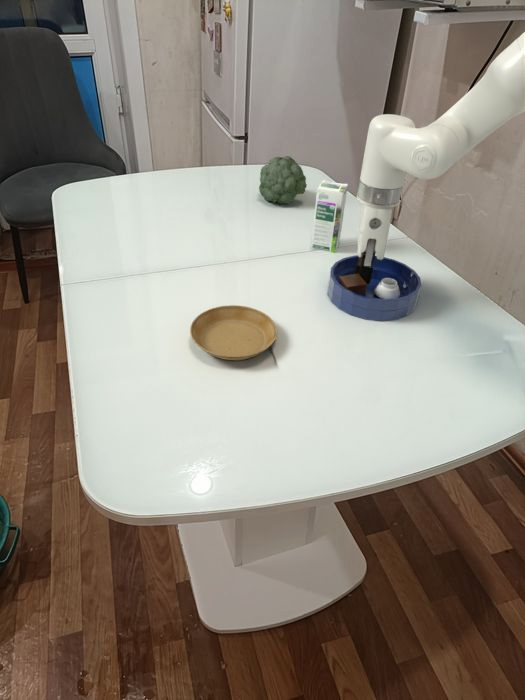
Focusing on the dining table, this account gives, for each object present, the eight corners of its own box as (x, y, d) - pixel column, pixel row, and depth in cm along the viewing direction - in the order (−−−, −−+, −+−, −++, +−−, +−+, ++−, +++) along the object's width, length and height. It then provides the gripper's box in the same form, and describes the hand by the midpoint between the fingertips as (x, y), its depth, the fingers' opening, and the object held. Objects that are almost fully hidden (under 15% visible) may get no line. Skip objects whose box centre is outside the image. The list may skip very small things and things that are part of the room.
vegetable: (323, 190, 139) (304, 180, 126) (286, 218, 145) (265, 212, 131) (300, 154, 141) (279, 141, 127) (265, 183, 146) (241, 174, 133)
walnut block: (355, 290, 101) (358, 273, 99) (364, 301, 98) (367, 283, 96) (337, 293, 100) (339, 276, 98) (345, 304, 98) (347, 287, 95)
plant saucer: (263, 312, 95) (264, 301, 94) (287, 362, 84) (288, 349, 83) (184, 322, 92) (184, 309, 90) (198, 374, 81) (197, 361, 79)
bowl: (411, 281, 107) (416, 259, 104) (419, 328, 93) (425, 305, 90) (329, 272, 108) (332, 251, 105) (325, 317, 95) (328, 294, 92)
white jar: (378, 285, 104) (370, 296, 100) (380, 272, 102) (373, 284, 98) (402, 292, 102) (395, 304, 98) (405, 279, 100) (398, 291, 97)
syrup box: (309, 250, 116) (316, 187, 107) (316, 239, 120) (323, 178, 111) (334, 255, 115) (343, 192, 106) (339, 244, 119) (348, 182, 110)
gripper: (402, 211, 84) (381, 304, 95) (399, 179, 95) (379, 265, 107) (357, 206, 85) (341, 299, 96) (358, 175, 96) (344, 261, 108)
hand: (361, 281), depth 101 cm, fingers closed
